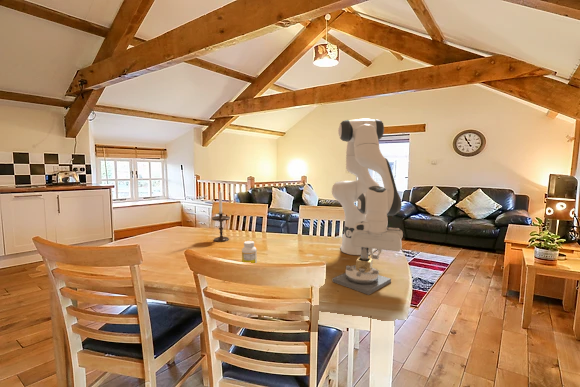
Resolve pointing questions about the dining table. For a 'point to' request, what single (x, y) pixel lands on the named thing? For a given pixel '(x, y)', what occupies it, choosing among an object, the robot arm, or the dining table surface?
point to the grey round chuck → (362, 272)
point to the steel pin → (364, 254)
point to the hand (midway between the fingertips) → (375, 258)
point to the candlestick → (220, 220)
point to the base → (362, 287)
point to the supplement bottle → (249, 252)
